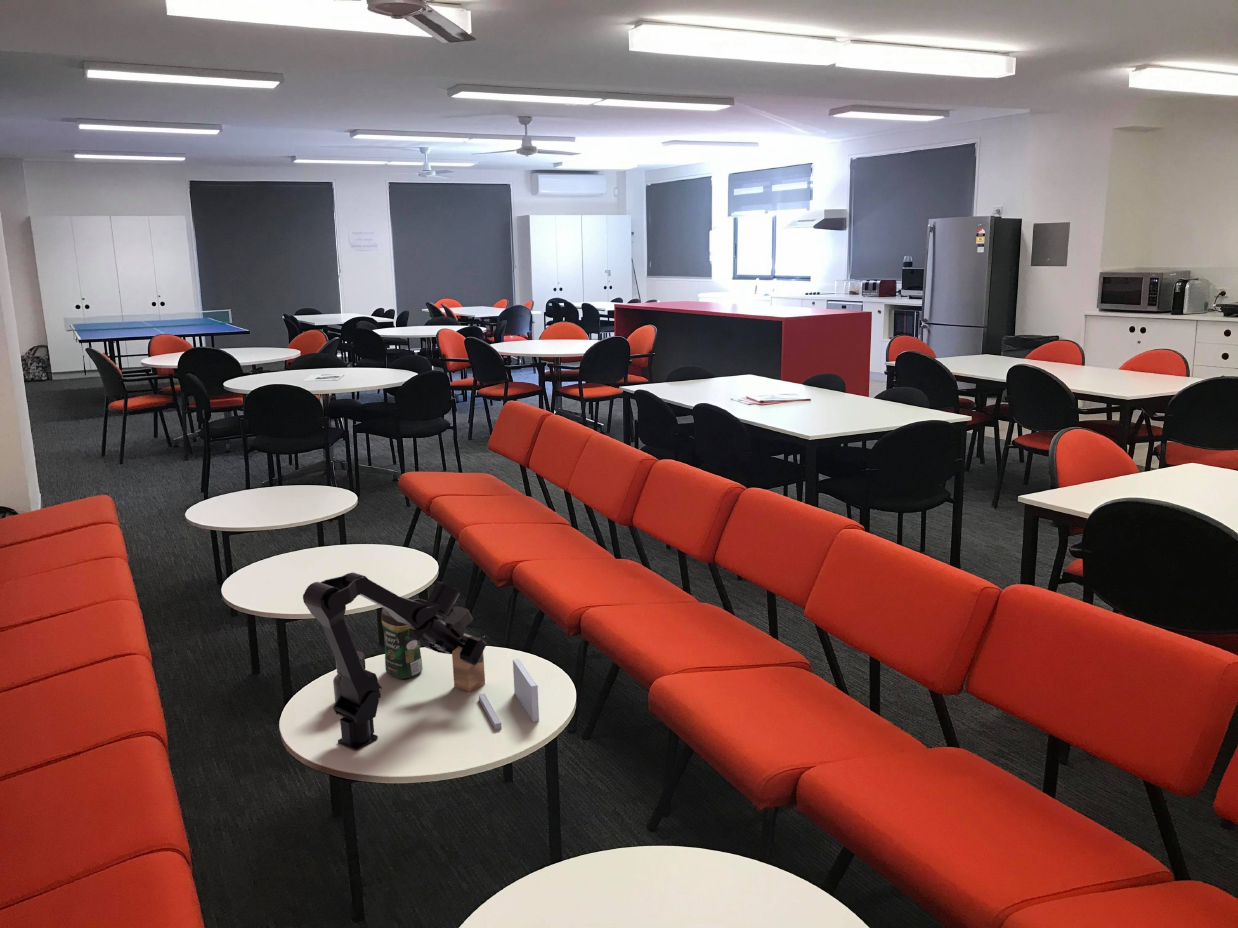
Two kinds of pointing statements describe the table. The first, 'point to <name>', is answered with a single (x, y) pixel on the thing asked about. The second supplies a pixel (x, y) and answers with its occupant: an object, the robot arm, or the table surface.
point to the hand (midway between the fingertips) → (472, 657)
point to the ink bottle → (339, 676)
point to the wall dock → (524, 692)
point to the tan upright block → (467, 671)
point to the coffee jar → (400, 648)
